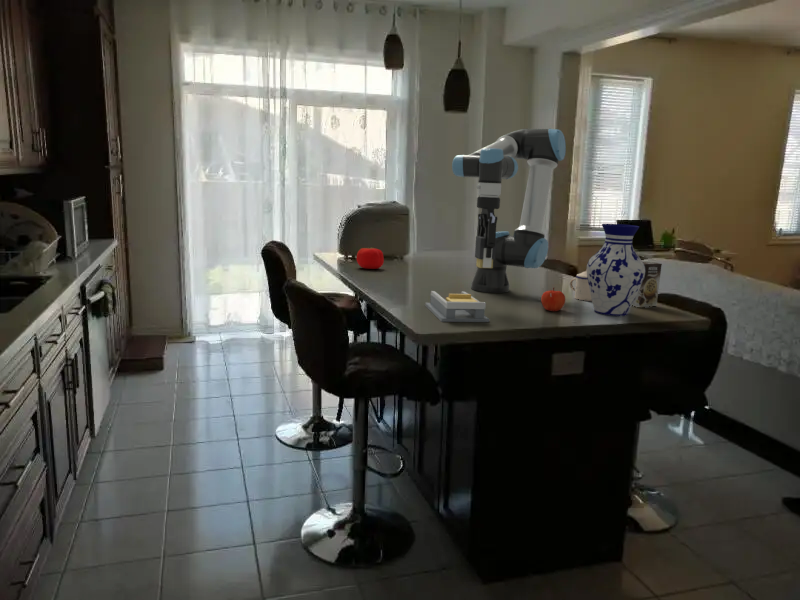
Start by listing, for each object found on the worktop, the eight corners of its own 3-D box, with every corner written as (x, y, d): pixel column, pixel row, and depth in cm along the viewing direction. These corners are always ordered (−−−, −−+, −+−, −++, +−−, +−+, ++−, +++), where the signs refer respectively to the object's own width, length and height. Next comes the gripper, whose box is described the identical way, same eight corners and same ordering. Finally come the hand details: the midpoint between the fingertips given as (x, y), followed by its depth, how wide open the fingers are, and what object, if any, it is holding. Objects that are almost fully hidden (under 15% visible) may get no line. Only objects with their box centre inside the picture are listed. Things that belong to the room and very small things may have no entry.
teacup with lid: (602, 299, 244) (606, 269, 242) (591, 302, 238) (594, 271, 236) (574, 295, 253) (577, 265, 251) (562, 297, 246) (565, 267, 244)
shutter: (472, 302, 203) (472, 294, 203) (478, 306, 197) (478, 298, 196) (445, 301, 202) (446, 293, 201) (450, 306, 195) (451, 297, 195)
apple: (560, 313, 214) (562, 290, 212) (537, 310, 218) (539, 287, 217) (567, 310, 221) (569, 287, 219) (544, 307, 225) (546, 284, 223)
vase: (608, 320, 208) (618, 227, 202) (570, 308, 225) (579, 222, 219) (652, 317, 215) (663, 228, 210) (613, 306, 232) (622, 223, 227)
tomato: (382, 271, 293) (383, 248, 291) (355, 269, 293) (356, 247, 291) (383, 267, 304) (384, 246, 302) (357, 266, 304) (357, 245, 302)
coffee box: (639, 308, 231) (644, 263, 228) (625, 304, 236) (630, 261, 233) (657, 307, 235) (662, 263, 232) (643, 303, 241) (648, 261, 238)
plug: (489, 265, 219) (491, 233, 216) (494, 268, 213) (496, 234, 211) (474, 265, 218) (476, 232, 216) (478, 268, 213) (481, 234, 210)
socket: (467, 305, 220) (468, 288, 219) (489, 322, 196) (490, 302, 195) (424, 305, 217) (425, 288, 216) (441, 321, 194) (442, 302, 192)
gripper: (470, 194, 219) (466, 262, 224) (486, 197, 202) (481, 270, 206) (491, 195, 221) (486, 262, 225) (508, 198, 203) (503, 270, 207)
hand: (484, 265), depth 216 cm, fingers closed on plug, 5 cm apart
